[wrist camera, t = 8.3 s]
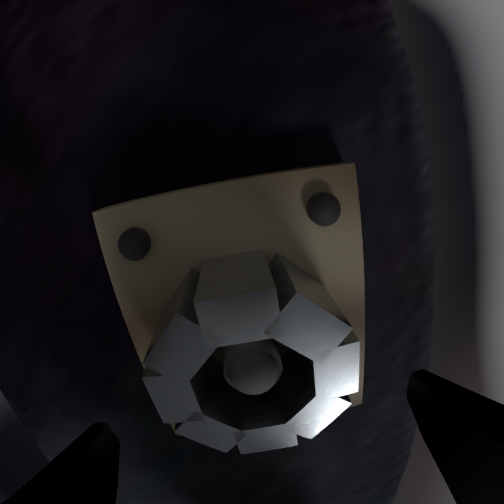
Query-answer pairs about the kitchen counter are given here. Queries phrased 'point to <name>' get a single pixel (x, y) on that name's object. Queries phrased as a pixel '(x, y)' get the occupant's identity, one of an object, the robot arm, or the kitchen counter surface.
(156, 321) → the beige mounting plate
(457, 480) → the robot arm
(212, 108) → the kitchen counter surface
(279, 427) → the ring
